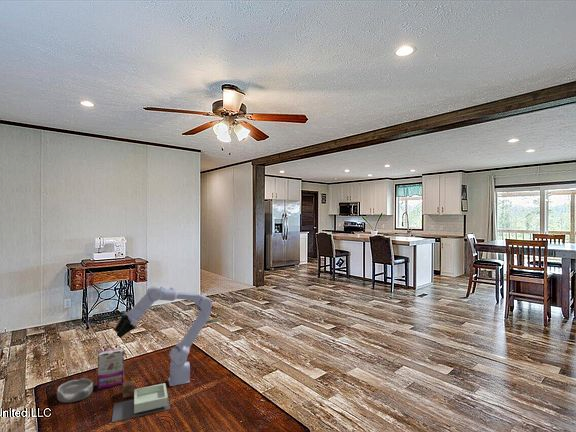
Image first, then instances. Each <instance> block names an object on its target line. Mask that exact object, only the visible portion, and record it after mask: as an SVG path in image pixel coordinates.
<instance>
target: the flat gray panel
mask: <svg viewBox="0 0 576 432" xmlns="http://www.w3.org/2000/svg"><path fill="white" fill-rule="evenodd" d="M167 396H168V397H169V395H168V392H167ZM112 408H113V410H112V419H111V423H116V422H120V421H125V420H128V419H129V420H130V419H133V418H137V417H143V416H146V415H150V414H155V413H159V412H163V411H168V410H171V407H170V400H169V398H168V406H165V407H164V408H163V409H161V407H160V408H156V409H151V410H147V411H142V412H141V413H140V414H138V413H134V398H133V399H128V400H124V401H123V400H122V401H119V402H114V403H113V407H112Z"/></svg>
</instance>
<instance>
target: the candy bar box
mask: <svg viewBox="0 0 576 432" xmlns="http://www.w3.org/2000/svg"><path fill="white" fill-rule="evenodd" d="M124 348H125V347H120V348H113V349H108V350H107V349H106V350H100V351H98V353H97V390H100V389H101V390H102V389H105V388H110V387H115V386H119V385H120V386H121V385H123V382H125V381H124V380H125V379H124V377H125V371H124V370H125V369H124V368H125V367H124V366H125V364H124V363H125V357H124V355H125V349H124Z"/></svg>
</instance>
